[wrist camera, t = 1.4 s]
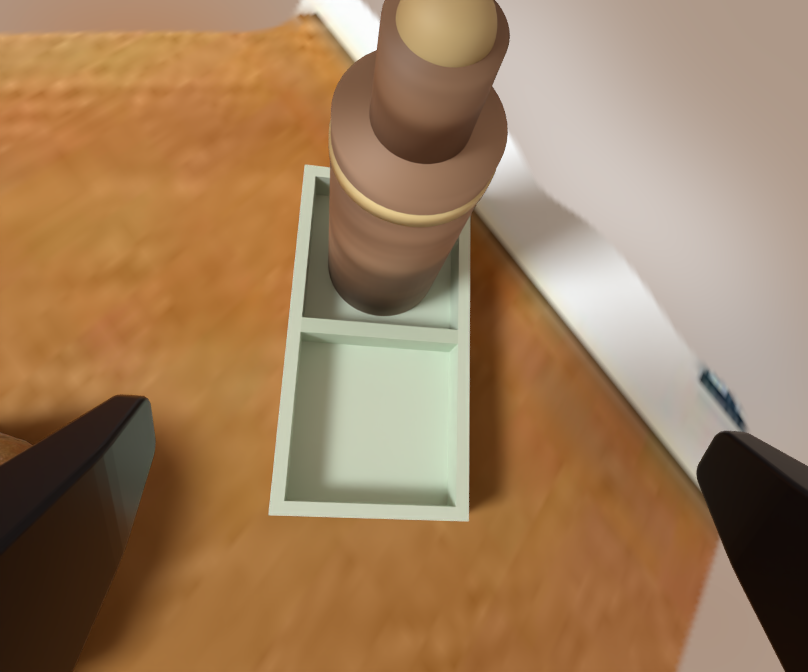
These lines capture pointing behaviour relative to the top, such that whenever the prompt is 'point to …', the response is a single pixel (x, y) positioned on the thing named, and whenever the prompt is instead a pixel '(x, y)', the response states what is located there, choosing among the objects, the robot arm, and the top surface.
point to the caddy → (372, 391)
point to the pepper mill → (413, 148)
